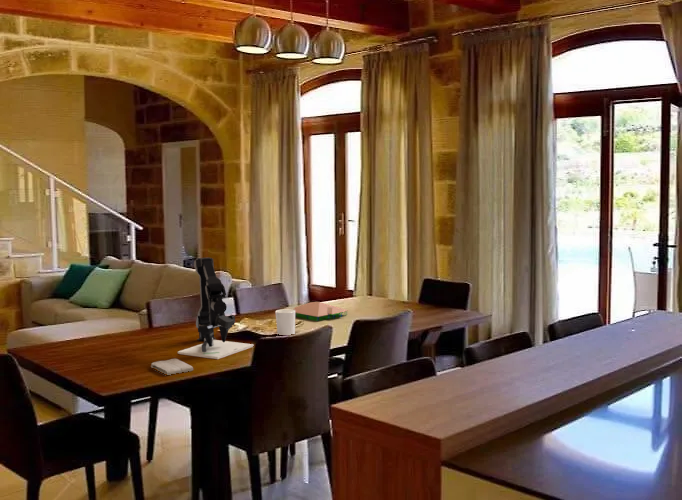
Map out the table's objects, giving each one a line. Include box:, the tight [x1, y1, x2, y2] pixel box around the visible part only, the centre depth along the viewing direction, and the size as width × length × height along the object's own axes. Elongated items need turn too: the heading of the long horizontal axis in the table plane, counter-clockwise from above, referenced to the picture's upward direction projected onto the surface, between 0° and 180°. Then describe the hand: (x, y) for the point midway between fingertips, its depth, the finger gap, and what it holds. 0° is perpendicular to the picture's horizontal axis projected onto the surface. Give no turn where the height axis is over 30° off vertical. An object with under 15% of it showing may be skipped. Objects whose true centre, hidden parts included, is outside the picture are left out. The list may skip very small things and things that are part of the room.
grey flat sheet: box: [177, 339, 255, 360], centre depth 327 cm, size 23×25×1 cm
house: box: [292, 301, 350, 322], centre depth 401 cm, size 23×33×8 cm
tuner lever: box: [201, 337, 214, 352], centre depth 325 cm, size 16×4×4 cm, turn 2°
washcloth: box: [150, 358, 194, 376], centre depth 297 cm, size 12×18×3 cm, turn 38°
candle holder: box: [275, 308, 296, 335], centre depth 354 cm, size 10×10×12 cm
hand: (217, 344), depth 326 cm, fingers open, 9 cm apart
